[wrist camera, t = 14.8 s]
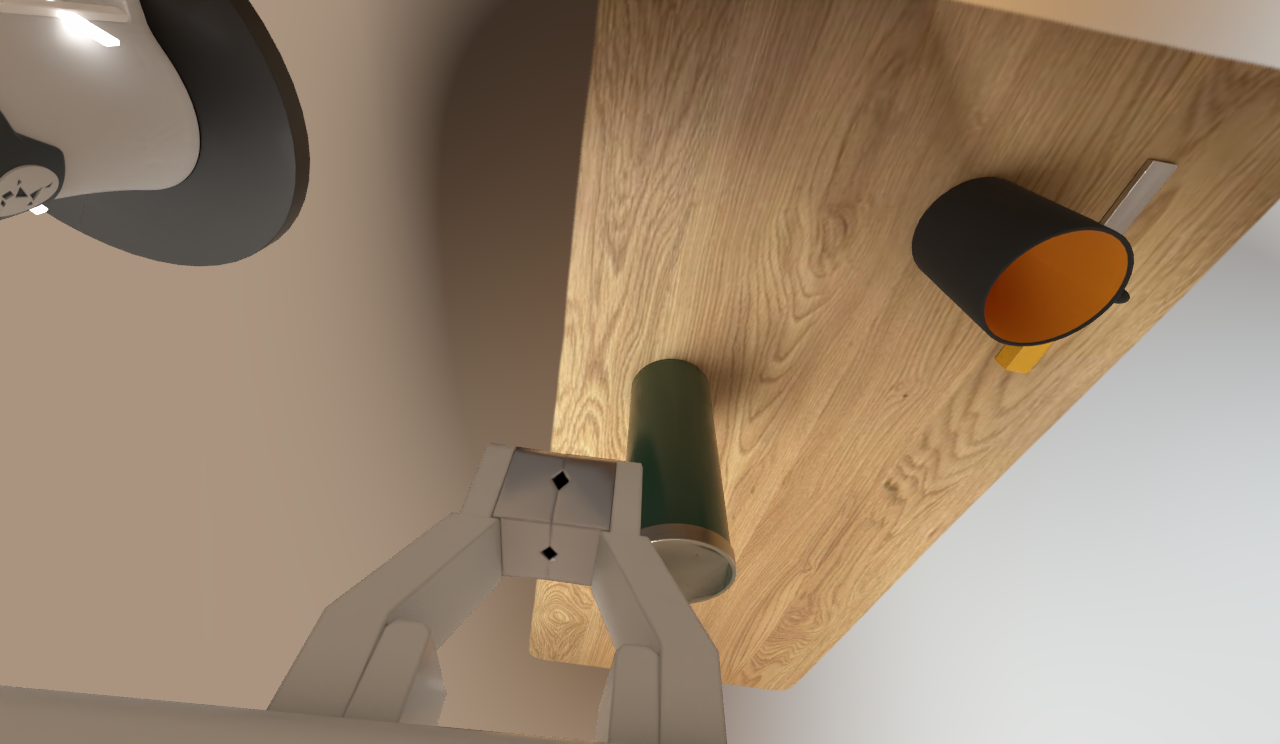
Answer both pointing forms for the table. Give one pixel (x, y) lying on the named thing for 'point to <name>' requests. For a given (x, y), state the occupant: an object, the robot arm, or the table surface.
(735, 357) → the table surface
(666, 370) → the canister
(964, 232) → the mug
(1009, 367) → the knife
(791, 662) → the table surface
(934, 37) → the table surface
